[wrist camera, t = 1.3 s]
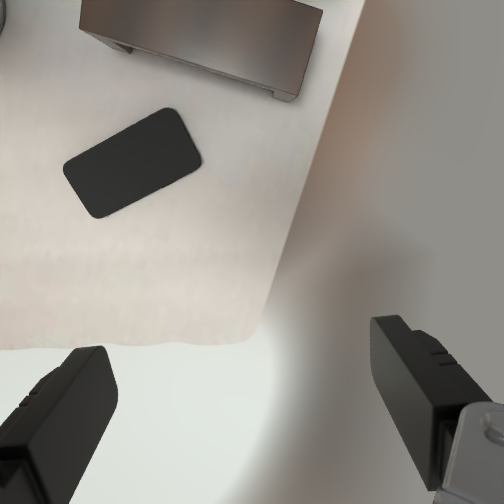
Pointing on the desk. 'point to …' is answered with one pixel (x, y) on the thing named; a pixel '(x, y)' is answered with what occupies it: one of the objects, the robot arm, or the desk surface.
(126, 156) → the phone
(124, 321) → the desk surface
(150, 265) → the desk surface
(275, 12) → the small brown bench
